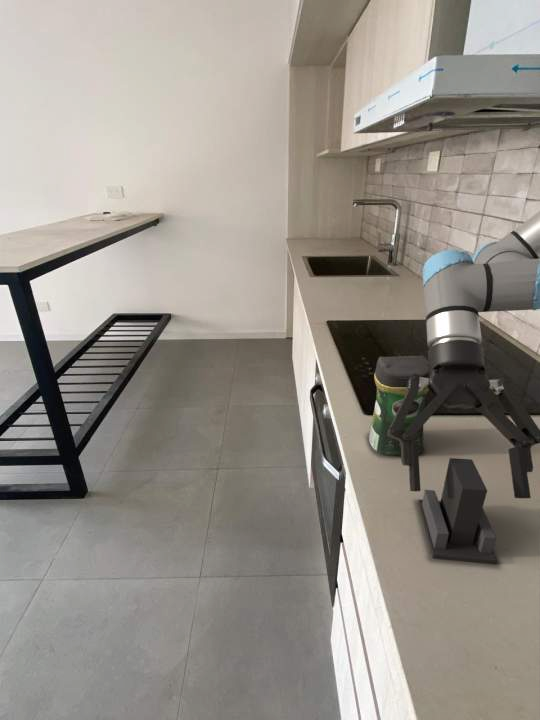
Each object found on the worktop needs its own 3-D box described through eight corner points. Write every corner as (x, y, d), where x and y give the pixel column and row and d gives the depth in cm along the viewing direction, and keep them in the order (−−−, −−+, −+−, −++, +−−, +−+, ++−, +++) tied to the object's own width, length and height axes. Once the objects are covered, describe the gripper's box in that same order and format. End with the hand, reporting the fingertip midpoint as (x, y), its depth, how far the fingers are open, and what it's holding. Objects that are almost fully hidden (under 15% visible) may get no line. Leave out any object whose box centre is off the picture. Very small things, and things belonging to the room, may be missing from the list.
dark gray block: (459, 511, 59) (472, 459, 55) (472, 545, 54) (487, 490, 50) (438, 510, 60) (449, 457, 56) (449, 543, 54) (462, 488, 50)
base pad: (470, 509, 61) (476, 488, 60) (494, 566, 52) (502, 544, 51) (417, 504, 62) (421, 484, 61) (432, 560, 54) (436, 538, 52)
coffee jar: (412, 432, 80) (425, 348, 72) (426, 458, 72) (442, 367, 64) (364, 433, 80) (372, 349, 72) (373, 459, 73) (383, 369, 65)
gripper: (530, 357, 62) (553, 501, 55) (367, 353, 65) (369, 489, 58) (557, 339, 55) (587, 501, 48) (373, 336, 58) (376, 487, 51)
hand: (468, 494), depth 53 cm, fingers open, 13 cm apart
